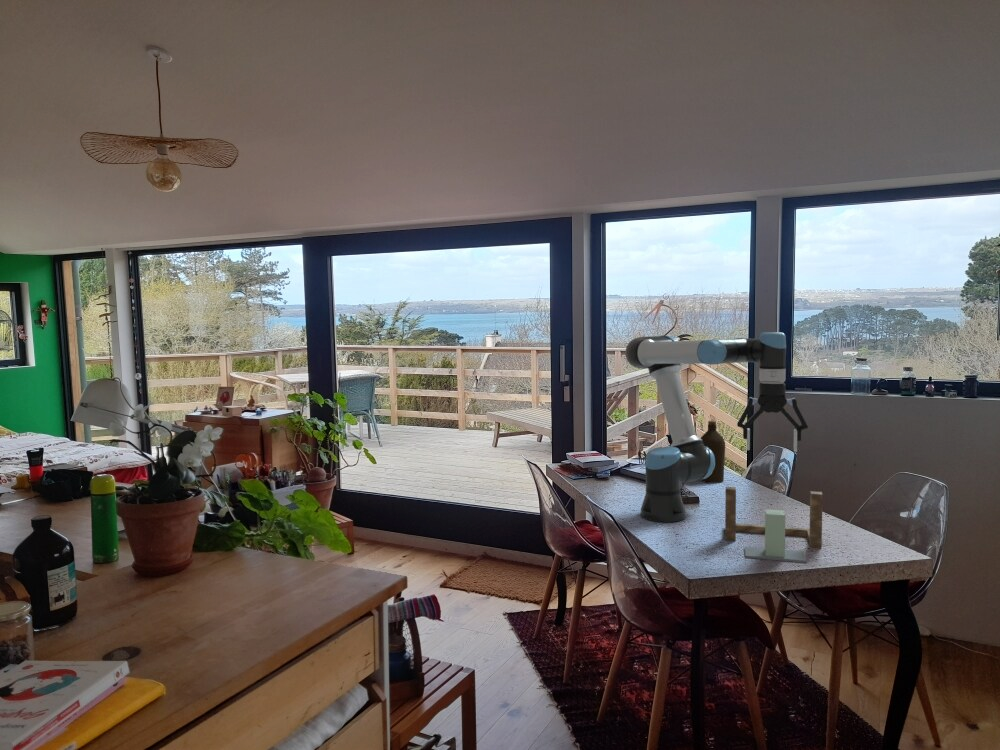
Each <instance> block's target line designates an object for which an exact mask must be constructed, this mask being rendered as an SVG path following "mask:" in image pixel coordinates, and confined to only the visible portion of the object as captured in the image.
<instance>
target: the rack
mask: <svg viewBox="0 0 1000 750" xmlns="http://www.w3.org/2000/svg"><path fill="white" fill-rule="evenodd" d="M809 493H810V494H809V528H806V527H805V528H803V527H794V526H793V527H792V526H785V536H795V537H806V538H808V539H807V541H808V544H809V547H810V548H818V547H820V548H821V547H822V545H823V543H822V542H823V499H824V498H823V492H822V491H813V490H812V491H811V490H810V491H809ZM724 504H725V511H724V512H725V514H724V515H725V516H724V518H725V519H724V520H725V521H724V523H725V524H724V526H725V527H724V531H725V532H724V533H725V534H724V539H725V541H730V542H736V535H737V534H736V532H737V533H738V532H739V533H740V532H742V533H753V534H765V524H764V525H763V524H749V523H736V521H737V517H736V515H737V487H736V486H725V503H724ZM820 548H819V549H820ZM821 549H822V548H821Z"/></svg>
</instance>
